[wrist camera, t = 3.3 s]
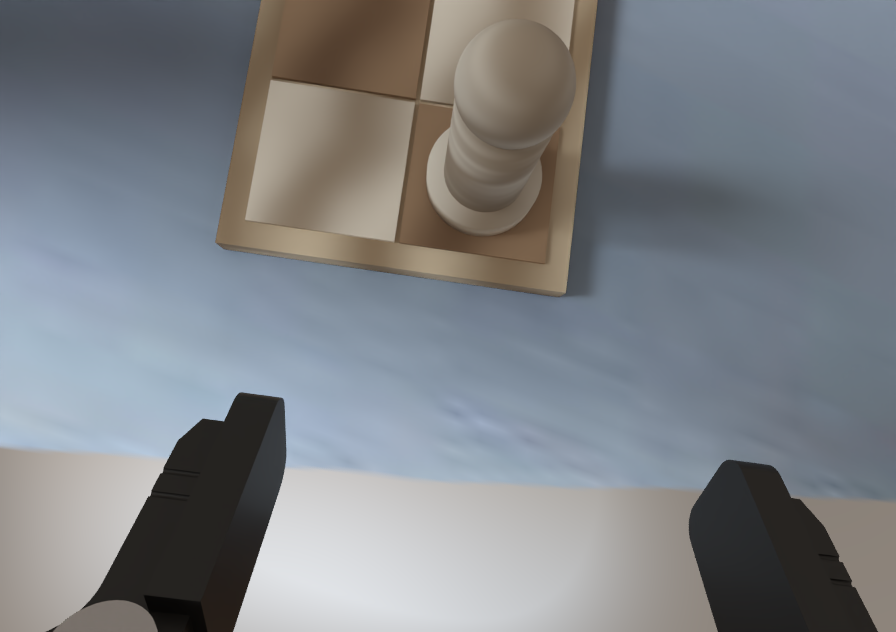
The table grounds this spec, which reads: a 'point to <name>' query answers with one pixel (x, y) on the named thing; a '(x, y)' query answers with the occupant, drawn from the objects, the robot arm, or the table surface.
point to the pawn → (500, 126)
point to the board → (388, 141)
